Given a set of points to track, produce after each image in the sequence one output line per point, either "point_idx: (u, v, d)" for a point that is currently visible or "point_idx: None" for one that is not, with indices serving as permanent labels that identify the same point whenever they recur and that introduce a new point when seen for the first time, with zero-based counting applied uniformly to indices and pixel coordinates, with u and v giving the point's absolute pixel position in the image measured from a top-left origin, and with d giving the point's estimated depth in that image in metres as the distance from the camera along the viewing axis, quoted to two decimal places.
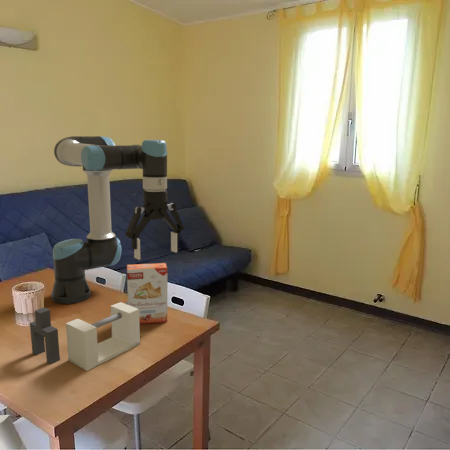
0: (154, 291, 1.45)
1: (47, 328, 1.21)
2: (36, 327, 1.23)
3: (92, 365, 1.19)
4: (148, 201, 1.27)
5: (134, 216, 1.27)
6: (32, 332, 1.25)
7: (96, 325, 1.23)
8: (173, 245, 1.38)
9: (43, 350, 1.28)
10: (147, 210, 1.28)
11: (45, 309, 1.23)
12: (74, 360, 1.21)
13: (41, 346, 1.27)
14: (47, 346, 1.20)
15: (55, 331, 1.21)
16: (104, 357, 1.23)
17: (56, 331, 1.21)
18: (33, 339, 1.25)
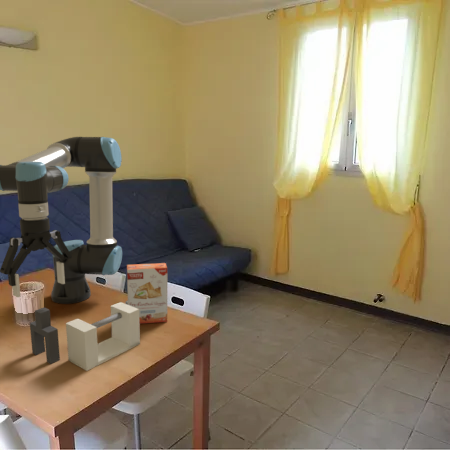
0: (154, 291, 1.45)
1: (47, 328, 1.21)
2: (36, 327, 1.23)
3: (92, 365, 1.19)
4: (26, 231, 1.13)
5: (10, 249, 1.12)
6: (32, 332, 1.25)
7: (96, 325, 1.23)
8: (60, 276, 1.25)
9: (43, 350, 1.28)
10: (26, 241, 1.14)
11: (45, 309, 1.22)
12: (74, 360, 1.21)
13: (41, 346, 1.27)
14: (47, 346, 1.20)
15: (55, 331, 1.21)
16: (104, 357, 1.23)
17: (56, 331, 1.21)
18: (33, 339, 1.25)
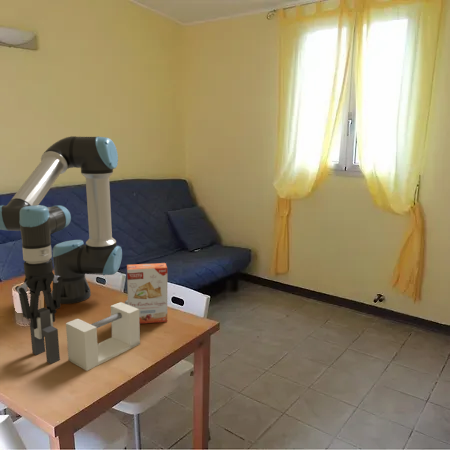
0: (154, 291, 1.45)
1: (47, 328, 1.21)
2: None
3: (92, 365, 1.19)
4: (30, 274, 1.16)
5: (21, 297, 1.16)
6: (32, 332, 1.25)
7: (96, 325, 1.23)
8: None
9: (43, 350, 1.28)
10: (30, 283, 1.17)
11: (45, 309, 1.22)
12: (74, 360, 1.21)
13: (41, 346, 1.27)
14: (47, 346, 1.20)
15: (55, 331, 1.21)
16: (104, 357, 1.23)
17: (56, 331, 1.21)
18: (33, 339, 1.25)
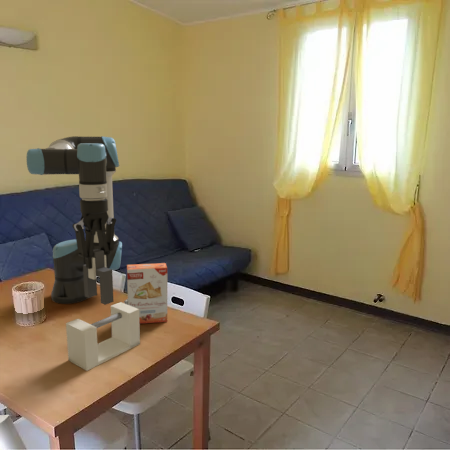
0: (154, 291, 1.45)
1: (101, 269, 1.21)
2: None
3: (92, 365, 1.19)
4: (87, 211, 1.15)
5: (77, 234, 1.15)
6: (85, 274, 1.24)
7: (96, 325, 1.23)
8: None
9: (95, 294, 1.27)
10: (86, 221, 1.16)
11: (99, 250, 1.22)
12: (74, 360, 1.21)
13: (93, 290, 1.26)
14: (102, 286, 1.19)
15: (110, 271, 1.20)
16: (104, 357, 1.23)
17: (111, 271, 1.20)
18: (86, 281, 1.24)
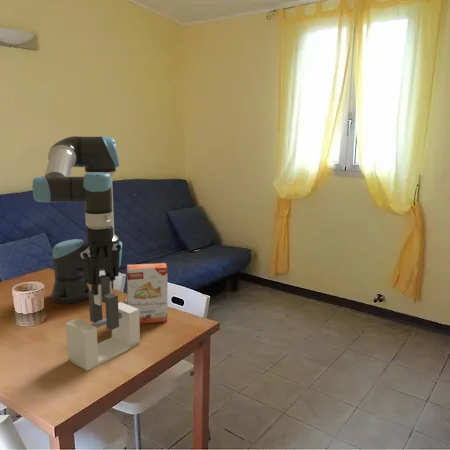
0: (154, 291, 1.45)
1: (107, 295, 1.23)
2: None
3: (92, 365, 1.19)
4: (93, 239, 1.17)
5: (84, 262, 1.17)
6: (91, 300, 1.26)
7: (96, 325, 1.23)
8: None
9: (100, 318, 1.29)
10: (92, 249, 1.18)
11: (105, 276, 1.24)
12: (74, 360, 1.21)
13: (98, 314, 1.28)
14: (108, 312, 1.22)
15: (115, 297, 1.22)
16: (104, 357, 1.23)
17: (116, 297, 1.22)
18: (92, 307, 1.26)
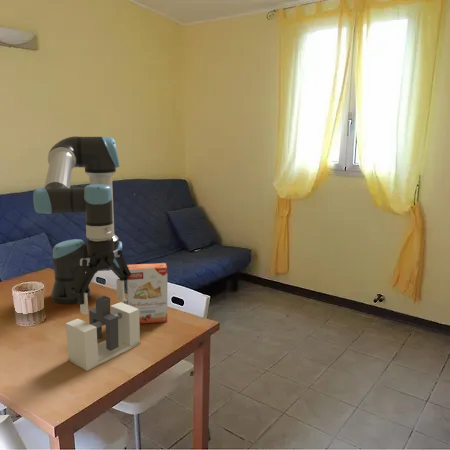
0: (154, 291, 1.45)
1: (107, 316, 1.24)
2: (96, 314, 1.25)
3: (92, 365, 1.19)
4: (94, 251, 1.18)
5: (79, 269, 1.17)
6: (91, 319, 1.27)
7: (96, 325, 1.23)
8: (120, 293, 1.30)
9: (100, 337, 1.30)
10: (93, 261, 1.19)
11: (105, 297, 1.25)
12: (74, 360, 1.21)
13: (98, 334, 1.29)
14: (108, 333, 1.23)
15: (116, 319, 1.23)
16: (104, 357, 1.23)
17: (116, 319, 1.24)
18: None
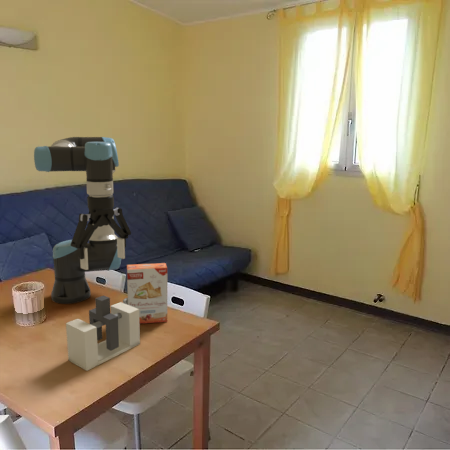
0: (154, 291, 1.45)
1: (107, 315, 1.24)
2: (96, 314, 1.25)
3: (92, 365, 1.19)
4: (94, 207, 1.20)
5: (80, 224, 1.19)
6: (91, 319, 1.27)
7: (96, 325, 1.23)
8: (120, 251, 1.32)
9: (100, 337, 1.30)
10: (93, 217, 1.21)
11: (105, 297, 1.25)
12: (74, 360, 1.21)
13: (98, 334, 1.29)
14: (108, 333, 1.23)
15: (116, 318, 1.23)
16: (104, 357, 1.23)
17: (116, 318, 1.24)
18: None
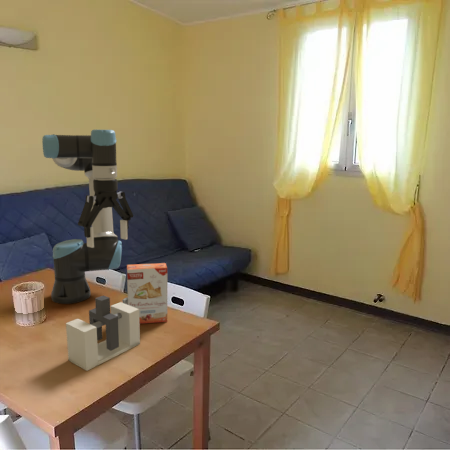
0: (154, 291, 1.45)
1: (107, 315, 1.24)
2: (96, 314, 1.25)
3: (92, 365, 1.19)
4: (100, 189, 1.30)
5: (86, 205, 1.29)
6: (91, 320, 1.27)
7: (96, 325, 1.23)
8: (123, 232, 1.42)
9: (100, 337, 1.30)
10: (99, 198, 1.31)
11: (105, 297, 1.25)
12: (74, 360, 1.21)
13: (99, 334, 1.29)
14: (108, 333, 1.23)
15: (115, 318, 1.23)
16: (104, 357, 1.23)
17: (116, 318, 1.24)
18: None
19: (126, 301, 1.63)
